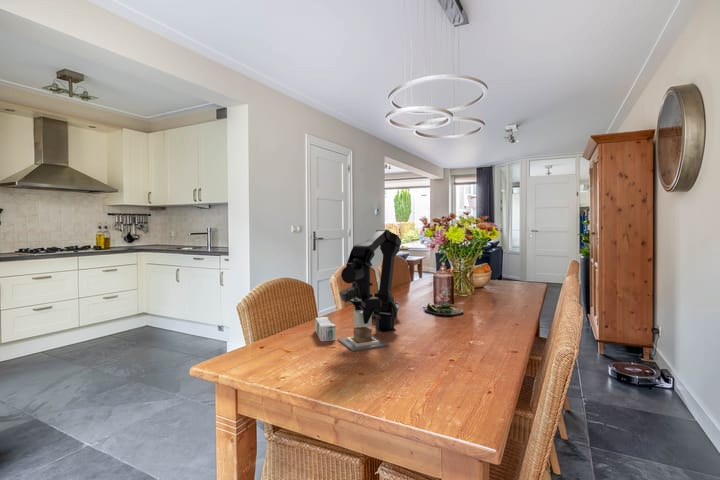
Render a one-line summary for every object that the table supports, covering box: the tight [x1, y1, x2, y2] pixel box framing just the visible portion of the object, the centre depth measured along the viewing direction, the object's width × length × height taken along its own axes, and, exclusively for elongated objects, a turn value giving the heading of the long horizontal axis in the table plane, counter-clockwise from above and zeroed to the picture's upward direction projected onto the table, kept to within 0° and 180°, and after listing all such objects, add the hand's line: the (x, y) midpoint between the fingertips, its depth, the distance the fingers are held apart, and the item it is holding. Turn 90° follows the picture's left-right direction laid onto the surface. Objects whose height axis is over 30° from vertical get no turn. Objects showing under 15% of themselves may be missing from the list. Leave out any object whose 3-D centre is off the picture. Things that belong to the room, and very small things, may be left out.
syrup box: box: [314, 316, 337, 342], centre depth 147 cm, size 6×6×14 cm
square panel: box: [337, 334, 390, 353], centre depth 138 cm, size 14×14×1 cm
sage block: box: [353, 309, 373, 327], centre depth 138 cm, size 5×5×5 cm
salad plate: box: [422, 302, 464, 318], centre depth 187 cm, size 19×18×5 cm
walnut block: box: [353, 326, 373, 343], centre depth 138 cm, size 5×5×5 cm
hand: (362, 322), depth 138 cm, fingers closed on sage block, 5 cm apart
